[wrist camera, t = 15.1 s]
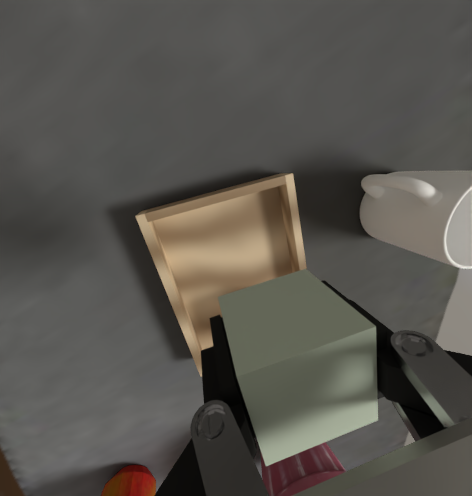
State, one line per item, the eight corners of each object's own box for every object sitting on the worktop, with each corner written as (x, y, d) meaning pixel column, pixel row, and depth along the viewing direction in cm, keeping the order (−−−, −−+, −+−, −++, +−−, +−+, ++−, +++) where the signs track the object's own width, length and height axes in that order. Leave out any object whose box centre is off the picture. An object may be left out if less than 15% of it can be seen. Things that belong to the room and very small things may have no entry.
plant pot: (239, 414, 35) (266, 541, 23) (324, 390, 37) (389, 495, 25) (248, 471, 39) (274, 600, 27) (322, 447, 41) (376, 557, 29)
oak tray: (141, 210, 23) (135, 216, 20) (280, 173, 24) (293, 173, 21) (199, 357, 30) (200, 376, 27) (304, 321, 31) (316, 335, 28)
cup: (389, 247, 30) (480, 281, 21) (321, 209, 27) (395, 229, 17) (427, 190, 29) (545, 199, 19) (360, 141, 25) (465, 122, 15)
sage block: (217, 296, 11) (236, 376, 6) (305, 268, 11) (375, 326, 7) (239, 366, 12) (265, 466, 8) (315, 338, 13) (377, 420, 9)
